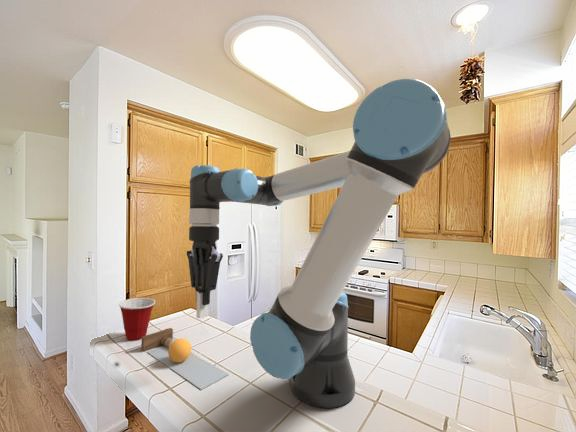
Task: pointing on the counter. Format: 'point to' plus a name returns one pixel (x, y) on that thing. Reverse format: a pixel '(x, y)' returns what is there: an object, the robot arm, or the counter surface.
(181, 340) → the ball
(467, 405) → the counter surface
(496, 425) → the counter surface
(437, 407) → the counter surface
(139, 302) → the plastic cup
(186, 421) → the counter surface
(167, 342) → the pin
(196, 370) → the lane mark
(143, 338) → the board
